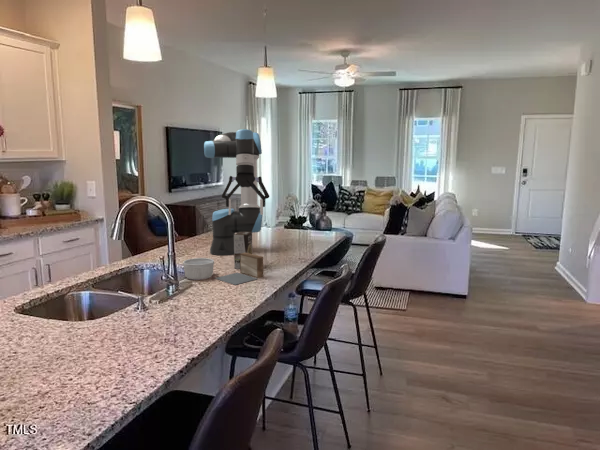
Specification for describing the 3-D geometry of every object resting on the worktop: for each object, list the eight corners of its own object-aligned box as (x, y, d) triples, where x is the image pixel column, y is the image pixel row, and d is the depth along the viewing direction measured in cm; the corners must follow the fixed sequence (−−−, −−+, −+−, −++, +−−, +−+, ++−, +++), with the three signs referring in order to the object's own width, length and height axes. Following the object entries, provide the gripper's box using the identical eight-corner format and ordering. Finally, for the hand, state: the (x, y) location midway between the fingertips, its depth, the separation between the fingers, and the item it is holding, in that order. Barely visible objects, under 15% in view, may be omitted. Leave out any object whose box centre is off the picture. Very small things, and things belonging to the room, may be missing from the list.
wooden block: (245, 272, 202) (245, 252, 200) (263, 277, 193) (263, 256, 192) (240, 273, 199) (239, 253, 198) (258, 278, 191) (257, 257, 190)
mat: (237, 273, 199) (237, 272, 199) (257, 279, 190) (257, 278, 190) (215, 278, 191) (214, 277, 191) (235, 285, 181) (235, 284, 181)
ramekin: (204, 271, 204) (203, 256, 203) (220, 276, 194) (220, 261, 193) (177, 276, 195) (177, 261, 193) (194, 282, 185) (193, 266, 184)
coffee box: (247, 269, 206) (246, 234, 203) (234, 268, 207) (233, 234, 205) (253, 264, 215) (252, 231, 212) (240, 263, 216) (239, 231, 213)
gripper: (216, 163, 186) (216, 213, 184) (275, 164, 192) (276, 213, 190) (215, 166, 193) (215, 215, 192) (272, 168, 199) (273, 215, 197)
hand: (245, 214), depth 191 cm, fingers open, 13 cm apart
